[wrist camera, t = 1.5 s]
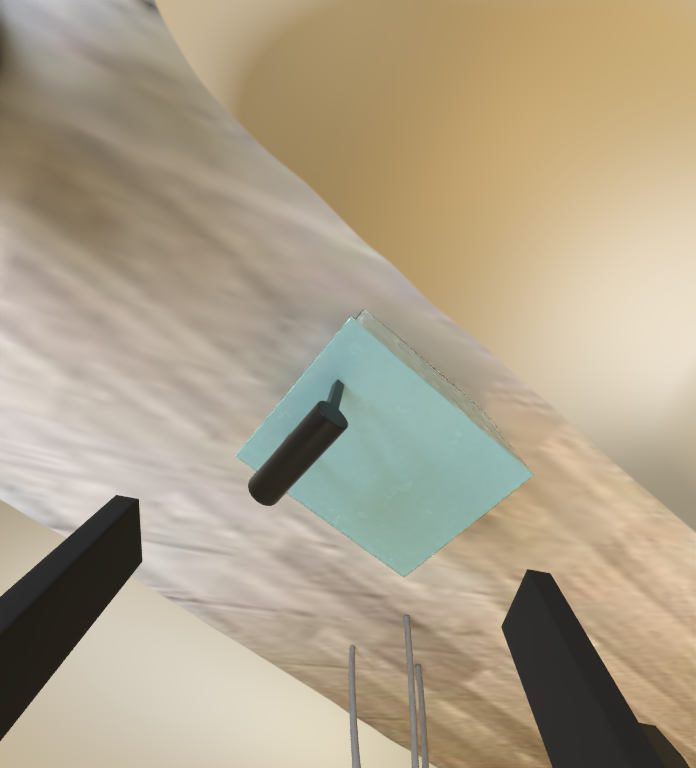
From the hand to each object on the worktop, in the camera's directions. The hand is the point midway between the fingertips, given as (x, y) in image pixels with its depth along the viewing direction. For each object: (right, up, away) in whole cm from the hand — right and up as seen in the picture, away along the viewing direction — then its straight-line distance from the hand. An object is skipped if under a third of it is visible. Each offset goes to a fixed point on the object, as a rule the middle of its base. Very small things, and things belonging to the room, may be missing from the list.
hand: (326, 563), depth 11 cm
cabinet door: (+3, 0, +16) cm, 16 cm away
